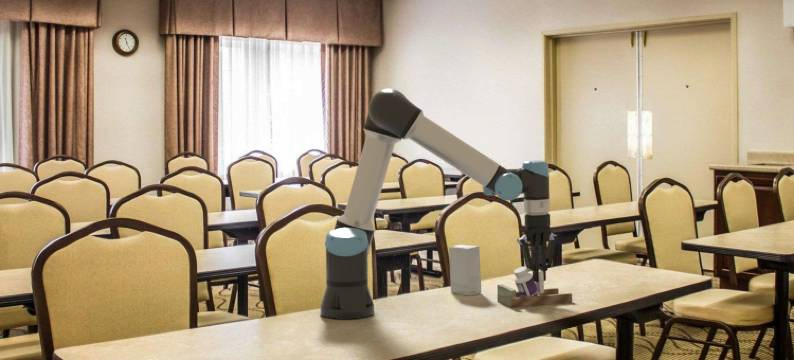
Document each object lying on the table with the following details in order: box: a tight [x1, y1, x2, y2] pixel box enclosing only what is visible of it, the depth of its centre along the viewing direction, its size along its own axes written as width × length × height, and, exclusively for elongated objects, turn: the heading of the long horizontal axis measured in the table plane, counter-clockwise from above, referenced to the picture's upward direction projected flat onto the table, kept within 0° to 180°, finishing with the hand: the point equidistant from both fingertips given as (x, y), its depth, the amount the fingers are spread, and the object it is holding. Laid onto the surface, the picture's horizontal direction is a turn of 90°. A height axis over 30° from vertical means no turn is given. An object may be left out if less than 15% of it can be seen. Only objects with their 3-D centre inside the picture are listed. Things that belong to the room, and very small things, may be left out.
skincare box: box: [448, 244, 482, 296], centre depth 279 cm, size 8×6×15 cm
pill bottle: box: [513, 266, 540, 297], centre depth 265 cm, size 5×5×10 cm
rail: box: [497, 284, 573, 308], centre depth 267 cm, size 20×9×5 cm, turn 110°
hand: (539, 292), depth 267 cm, fingers closed
